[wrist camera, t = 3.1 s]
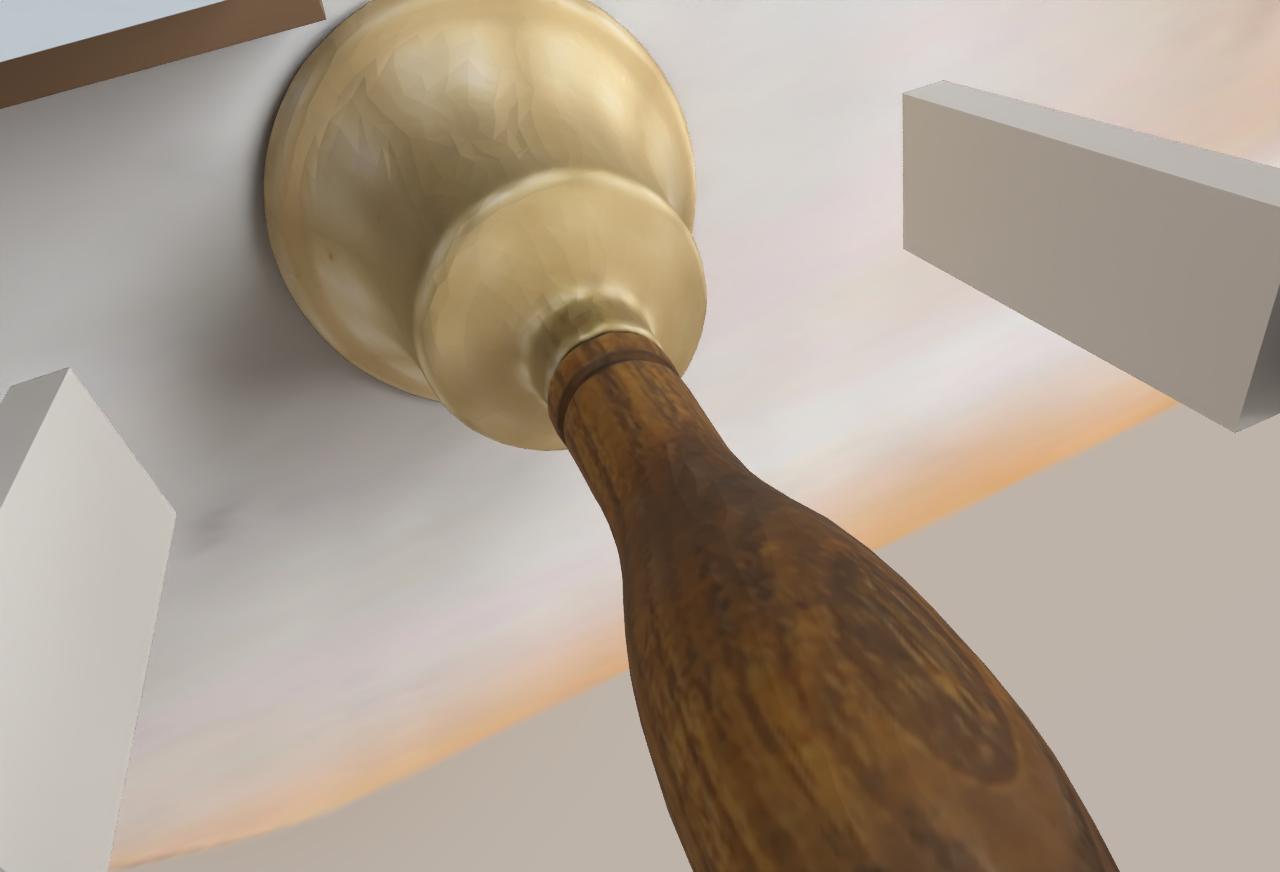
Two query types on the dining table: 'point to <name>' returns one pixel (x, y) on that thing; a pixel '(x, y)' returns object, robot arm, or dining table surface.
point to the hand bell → (643, 435)
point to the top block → (75, 20)
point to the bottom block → (149, 45)
